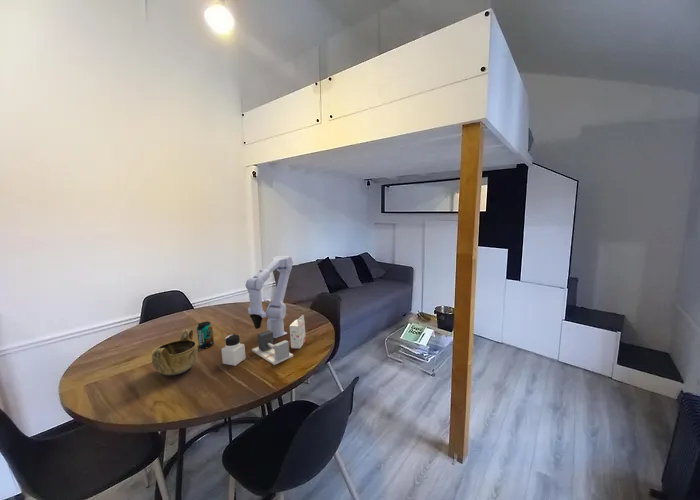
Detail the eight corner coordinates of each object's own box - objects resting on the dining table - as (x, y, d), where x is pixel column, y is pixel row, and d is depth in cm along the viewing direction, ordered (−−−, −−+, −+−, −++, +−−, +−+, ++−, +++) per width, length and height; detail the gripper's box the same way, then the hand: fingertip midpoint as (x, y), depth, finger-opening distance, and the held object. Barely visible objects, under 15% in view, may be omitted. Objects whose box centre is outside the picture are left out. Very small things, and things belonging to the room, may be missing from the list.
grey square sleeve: (258, 348, 139) (257, 333, 138) (269, 344, 143) (268, 330, 142) (262, 351, 136) (261, 336, 135) (274, 346, 140) (272, 332, 139)
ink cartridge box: (297, 340, 150) (295, 313, 148) (306, 341, 149) (304, 313, 147) (290, 348, 141) (288, 319, 139) (299, 348, 140) (298, 320, 138)
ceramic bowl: (181, 386, 113) (177, 350, 111) (139, 387, 113) (134, 351, 111) (209, 357, 135) (206, 327, 133) (174, 358, 135) (170, 328, 133)
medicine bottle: (246, 358, 133) (243, 333, 131) (235, 366, 126) (232, 340, 125) (233, 356, 135) (231, 332, 134) (222, 363, 129) (219, 338, 127)
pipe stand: (252, 351, 140) (250, 335, 139) (270, 343, 147) (269, 329, 146) (274, 365, 126) (273, 347, 125) (293, 356, 133) (292, 340, 132)
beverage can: (216, 345, 147) (214, 323, 146) (201, 350, 142) (199, 327, 141) (210, 341, 152) (208, 320, 151) (196, 346, 147) (194, 324, 146)
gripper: (241, 301, 144) (243, 326, 145) (255, 306, 134) (257, 334, 135) (254, 297, 149) (256, 322, 150) (269, 303, 139) (270, 329, 140)
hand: (257, 328), depth 143 cm, fingers closed
